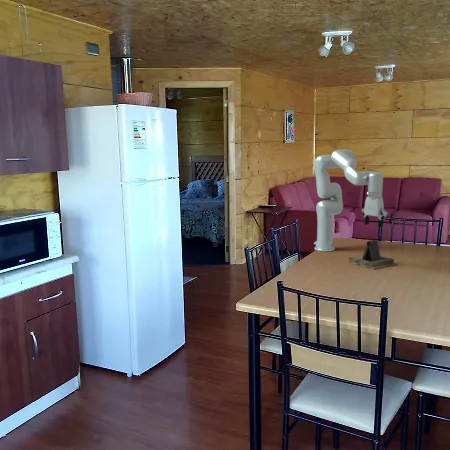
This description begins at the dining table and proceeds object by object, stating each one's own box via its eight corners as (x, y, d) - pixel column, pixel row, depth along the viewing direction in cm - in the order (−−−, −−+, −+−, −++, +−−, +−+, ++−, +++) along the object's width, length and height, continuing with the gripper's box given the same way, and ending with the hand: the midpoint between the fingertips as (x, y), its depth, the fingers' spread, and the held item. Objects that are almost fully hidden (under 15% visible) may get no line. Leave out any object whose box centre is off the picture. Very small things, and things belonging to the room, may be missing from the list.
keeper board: (348, 262, 269) (349, 250, 268) (370, 258, 279) (371, 246, 277) (373, 269, 254) (374, 256, 253) (396, 264, 263) (396, 252, 262)
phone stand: (381, 262, 265) (382, 241, 263) (374, 263, 262) (375, 242, 260) (368, 259, 273) (369, 238, 271) (361, 260, 269) (362, 240, 267)
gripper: (358, 194, 265) (356, 224, 268) (382, 197, 251) (381, 228, 254) (367, 193, 269) (366, 222, 272) (392, 196, 254) (390, 227, 257)
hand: (373, 225), depth 263 cm, fingers open, 9 cm apart
